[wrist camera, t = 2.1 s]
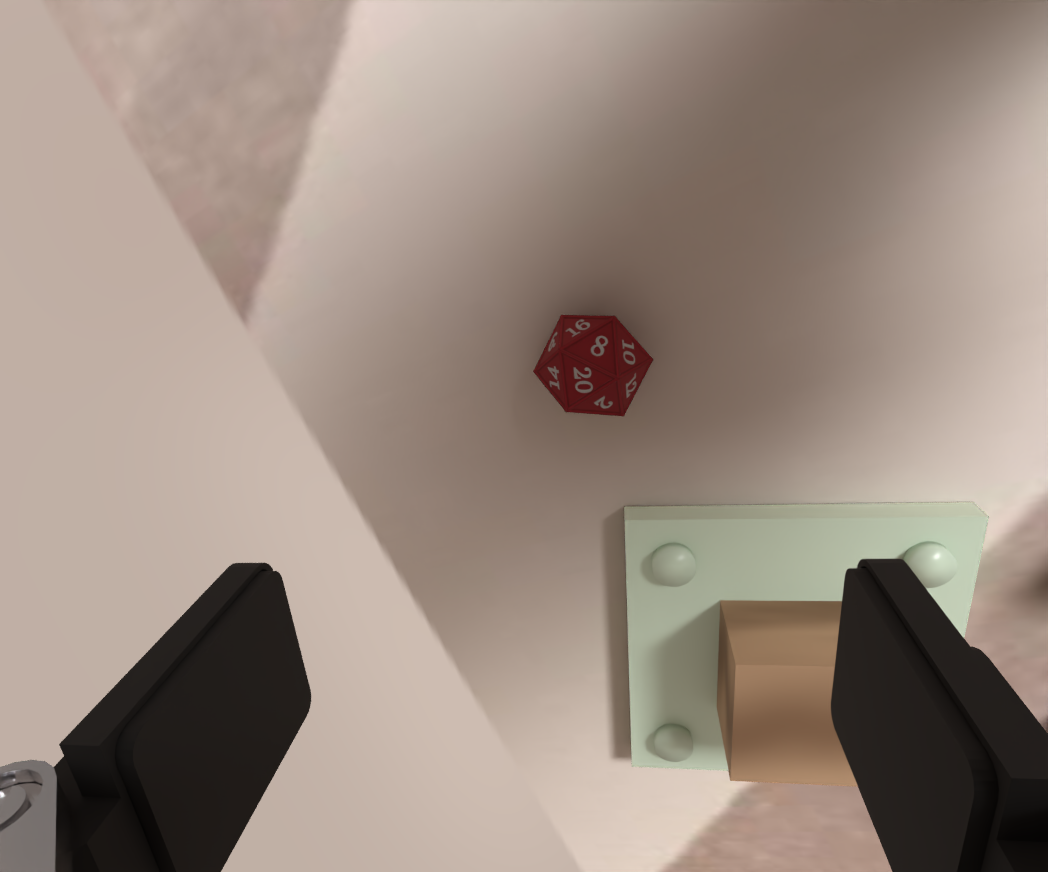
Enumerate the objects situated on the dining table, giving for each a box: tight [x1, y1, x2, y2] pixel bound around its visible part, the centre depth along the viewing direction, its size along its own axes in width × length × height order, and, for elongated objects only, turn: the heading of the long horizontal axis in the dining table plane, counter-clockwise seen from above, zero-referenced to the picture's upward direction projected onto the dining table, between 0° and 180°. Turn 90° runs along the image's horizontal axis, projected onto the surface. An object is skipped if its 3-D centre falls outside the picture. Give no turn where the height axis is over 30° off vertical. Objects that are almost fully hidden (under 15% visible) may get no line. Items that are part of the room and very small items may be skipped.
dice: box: [533, 315, 653, 416], centre depth 25 cm, size 4×4×4 cm
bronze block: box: [717, 600, 858, 787], centre depth 27 cm, size 6×6×4 cm
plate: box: [624, 502, 989, 771], centre depth 30 cm, size 14×14×2 cm
